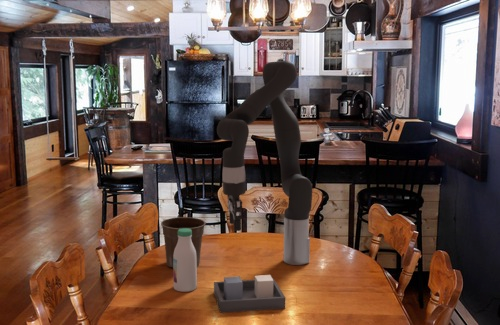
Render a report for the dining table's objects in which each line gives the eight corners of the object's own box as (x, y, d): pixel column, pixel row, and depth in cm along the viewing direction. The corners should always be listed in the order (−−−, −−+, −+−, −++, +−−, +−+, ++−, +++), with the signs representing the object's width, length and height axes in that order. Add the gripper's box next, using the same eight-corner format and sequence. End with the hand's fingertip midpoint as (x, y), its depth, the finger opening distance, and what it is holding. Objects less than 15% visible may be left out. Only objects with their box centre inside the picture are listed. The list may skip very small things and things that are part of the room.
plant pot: (200, 255, 223) (199, 215, 220) (210, 269, 208) (210, 226, 205) (158, 259, 218) (157, 218, 215) (165, 274, 203) (165, 230, 200)
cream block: (254, 293, 184) (254, 275, 183) (269, 292, 185) (270, 274, 184) (257, 299, 179) (257, 281, 178) (273, 298, 180) (273, 280, 179)
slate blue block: (239, 294, 183) (239, 276, 182) (242, 300, 178) (242, 282, 177) (223, 295, 182) (223, 277, 181) (226, 301, 177) (226, 283, 176)
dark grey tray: (273, 288, 191) (273, 278, 190) (285, 308, 175) (285, 297, 175) (213, 292, 187) (213, 281, 187) (220, 312, 172) (220, 301, 171)
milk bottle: (200, 285, 193) (200, 227, 189) (190, 293, 186) (190, 234, 182) (179, 282, 195) (179, 225, 192) (169, 290, 188) (168, 231, 185)
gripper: (219, 176, 195) (220, 222, 198) (226, 184, 182) (227, 234, 184) (240, 174, 197) (241, 220, 200) (249, 183, 183) (250, 232, 186)
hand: (235, 226), depth 192 cm, fingers open, 8 cm apart
